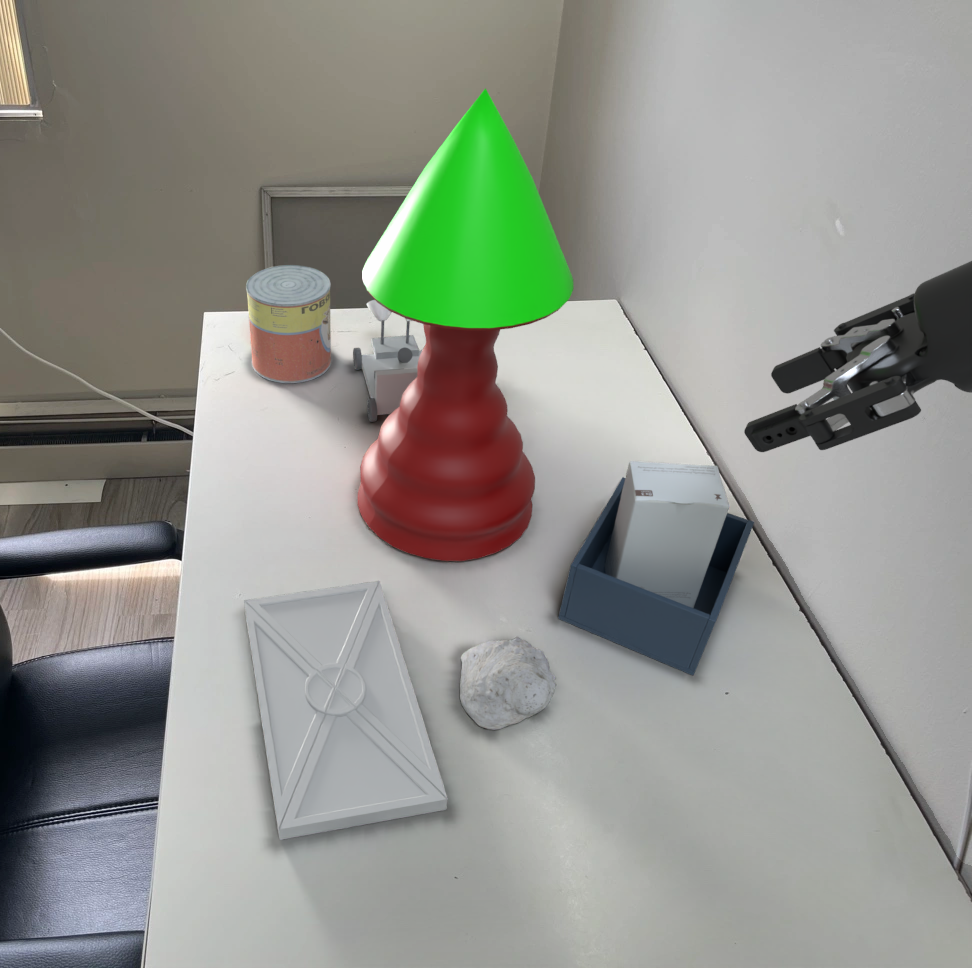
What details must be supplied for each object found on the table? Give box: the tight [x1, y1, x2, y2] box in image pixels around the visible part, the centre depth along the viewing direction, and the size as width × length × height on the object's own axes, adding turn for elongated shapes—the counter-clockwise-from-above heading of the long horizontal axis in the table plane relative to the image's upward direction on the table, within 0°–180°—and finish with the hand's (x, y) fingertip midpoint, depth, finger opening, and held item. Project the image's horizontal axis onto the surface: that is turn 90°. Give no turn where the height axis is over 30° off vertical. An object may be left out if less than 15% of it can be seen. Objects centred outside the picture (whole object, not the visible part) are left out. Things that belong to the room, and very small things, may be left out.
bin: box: [557, 476, 755, 676], centre depth 86 cm, size 13×15×8 cm
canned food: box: [245, 264, 332, 384], centre depth 120 cm, size 11×11×12 cm
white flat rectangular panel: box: [243, 580, 449, 841], centre depth 79 cm, size 24×2×14 cm
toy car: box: [352, 299, 423, 423], centre depth 116 cm, size 18×10×12 cm
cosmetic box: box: [605, 460, 731, 608], centre depth 84 cm, size 8×6×15 cm
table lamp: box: [357, 87, 575, 562], centre depth 86 cm, size 20×20×45 cm
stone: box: [459, 636, 557, 731], centre depth 80 cm, size 10×5×10 cm
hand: (764, 409), depth 63 cm, fingers open, 8 cm apart
